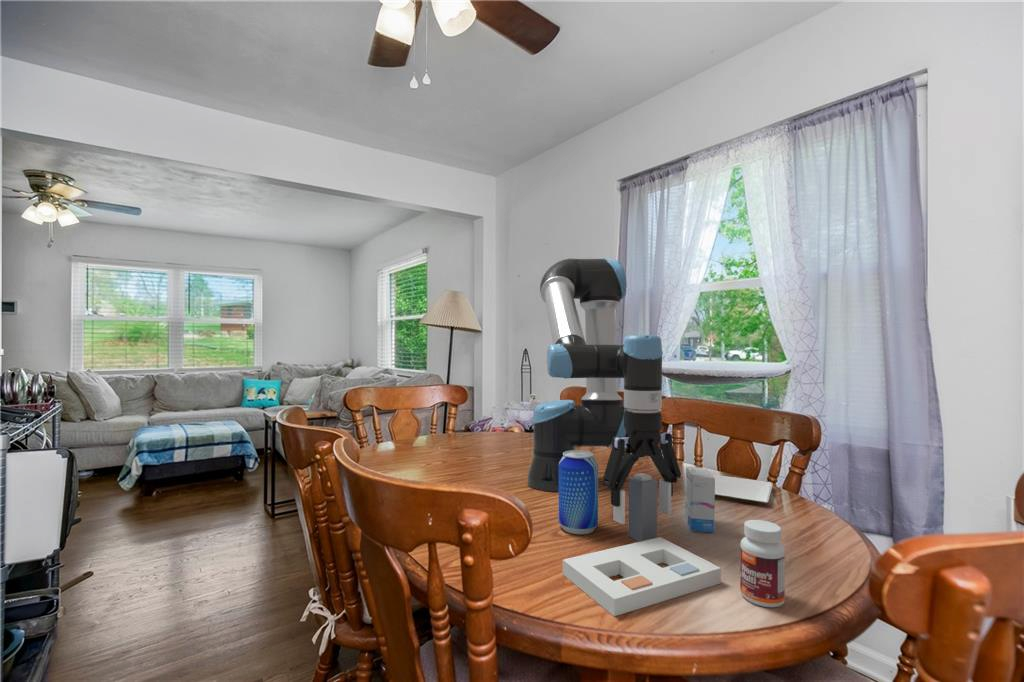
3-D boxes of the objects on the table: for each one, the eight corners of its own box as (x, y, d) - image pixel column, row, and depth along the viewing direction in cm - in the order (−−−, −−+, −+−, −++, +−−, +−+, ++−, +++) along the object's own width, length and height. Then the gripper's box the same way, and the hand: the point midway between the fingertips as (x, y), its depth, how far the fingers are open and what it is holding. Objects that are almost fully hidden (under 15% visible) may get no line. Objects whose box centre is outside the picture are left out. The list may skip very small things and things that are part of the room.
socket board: (562, 574, 81) (562, 557, 81) (660, 550, 91) (660, 535, 91) (614, 616, 69) (614, 597, 69) (721, 583, 78) (721, 566, 78)
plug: (628, 535, 98) (628, 473, 98) (643, 532, 99) (643, 471, 99) (641, 543, 94) (641, 478, 94) (657, 539, 96) (657, 476, 96)
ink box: (715, 533, 99) (715, 476, 99) (690, 531, 100) (690, 475, 100) (707, 518, 107) (707, 466, 107) (684, 517, 108) (684, 465, 108)
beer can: (602, 524, 104) (602, 451, 104) (592, 538, 96) (592, 459, 96) (565, 518, 107) (565, 447, 107) (553, 531, 100) (553, 455, 100)
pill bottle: (735, 599, 73) (735, 526, 73) (746, 584, 78) (746, 515, 78) (780, 613, 69) (780, 536, 69) (788, 596, 74) (788, 524, 74)
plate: (773, 489, 130) (773, 482, 130) (768, 510, 114) (767, 501, 114) (701, 479, 140) (701, 472, 140) (687, 496, 124) (687, 488, 124)
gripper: (607, 416, 88) (607, 533, 88) (699, 409, 99) (699, 513, 98) (583, 411, 95) (583, 520, 95) (672, 405, 105) (672, 503, 105)
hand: (642, 517), depth 97 cm, fingers open, 11 cm apart
